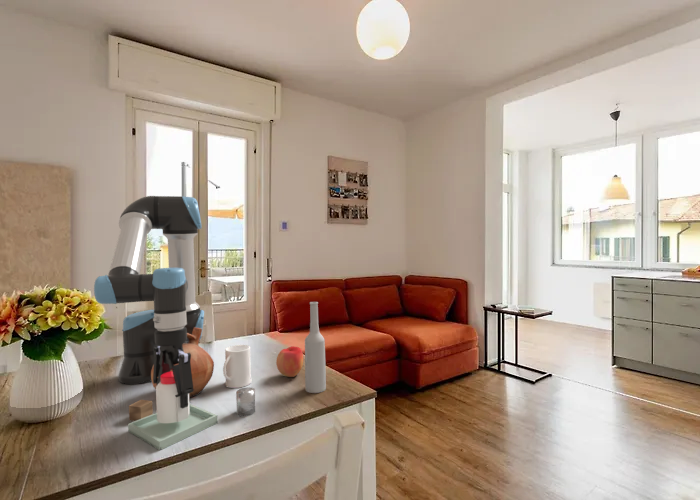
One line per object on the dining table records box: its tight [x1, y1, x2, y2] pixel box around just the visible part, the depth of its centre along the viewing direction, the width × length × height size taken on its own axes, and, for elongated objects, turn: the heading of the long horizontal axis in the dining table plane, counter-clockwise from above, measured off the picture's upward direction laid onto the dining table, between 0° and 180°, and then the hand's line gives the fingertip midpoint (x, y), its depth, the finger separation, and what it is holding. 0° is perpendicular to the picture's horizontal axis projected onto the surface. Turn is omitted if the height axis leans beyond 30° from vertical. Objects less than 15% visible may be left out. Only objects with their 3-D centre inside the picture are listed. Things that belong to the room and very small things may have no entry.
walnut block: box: [128, 399, 154, 422], centre depth 102 cm, size 4×4×4 cm
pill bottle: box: [155, 371, 190, 423], centre depth 96 cm, size 8×8×11 cm
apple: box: [275, 346, 305, 378], centre depth 131 cm, size 10×10×10 cm
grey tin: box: [235, 386, 256, 417], centre depth 104 cm, size 5×5×6 cm
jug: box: [151, 327, 215, 398], centre depth 118 cm, size 18×18×20 cm
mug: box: [222, 344, 253, 389], centre depth 124 cm, size 12×8×12 cm
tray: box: [127, 403, 219, 451], centre depth 96 cm, size 15×15×2 cm
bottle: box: [304, 301, 327, 394], centre depth 119 cm, size 7×7×28 cm
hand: (173, 415), depth 96 cm, fingers closed on pill bottle, 8 cm apart
